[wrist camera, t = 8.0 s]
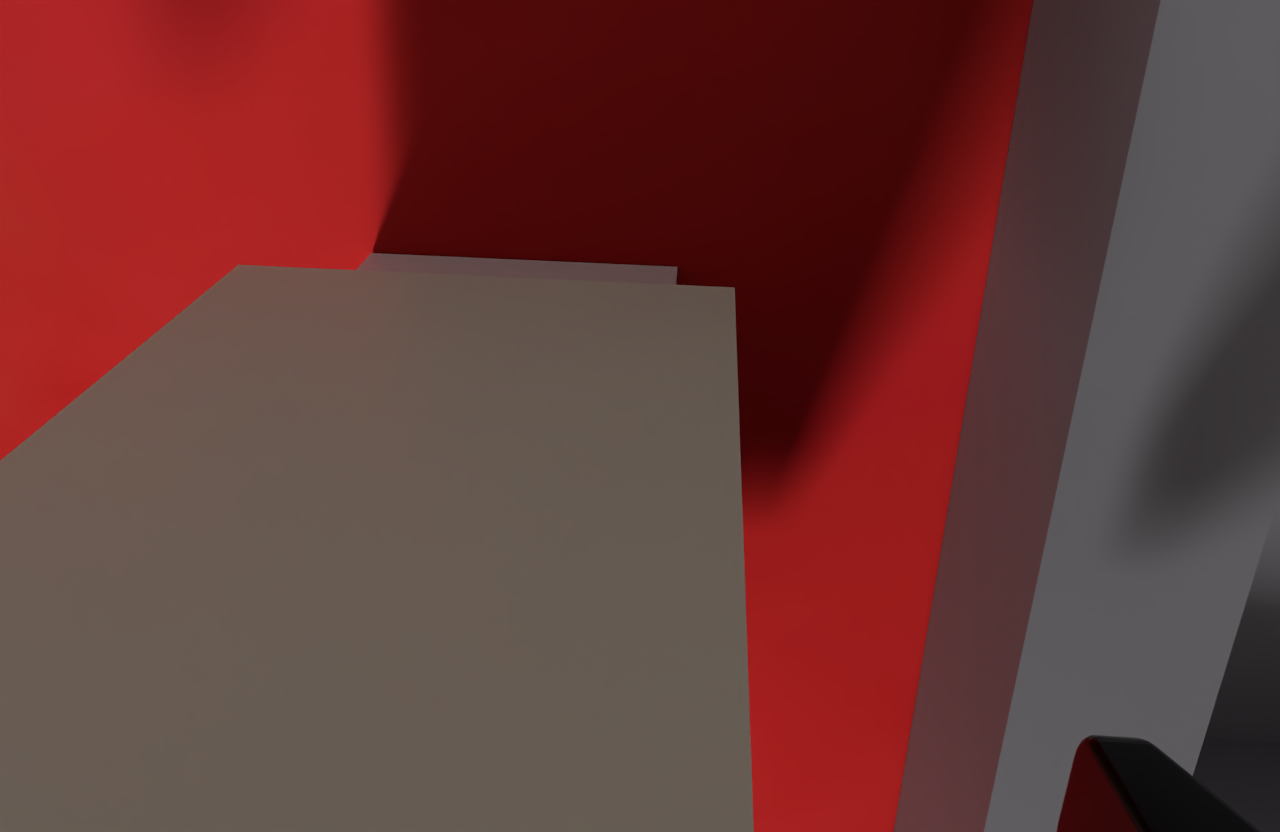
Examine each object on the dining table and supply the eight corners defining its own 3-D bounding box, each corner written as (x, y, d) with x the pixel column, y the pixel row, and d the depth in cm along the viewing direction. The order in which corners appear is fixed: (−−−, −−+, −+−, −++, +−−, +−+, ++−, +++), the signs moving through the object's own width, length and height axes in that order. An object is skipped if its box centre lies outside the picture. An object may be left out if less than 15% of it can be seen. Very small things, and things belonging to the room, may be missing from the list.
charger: (731, 218, 11) (757, 891, 4) (706, 649, 13) (687, 1605, 6) (317, 201, 11) (-427, 810, 4) (357, 628, 13) (-73, 1530, 6)
